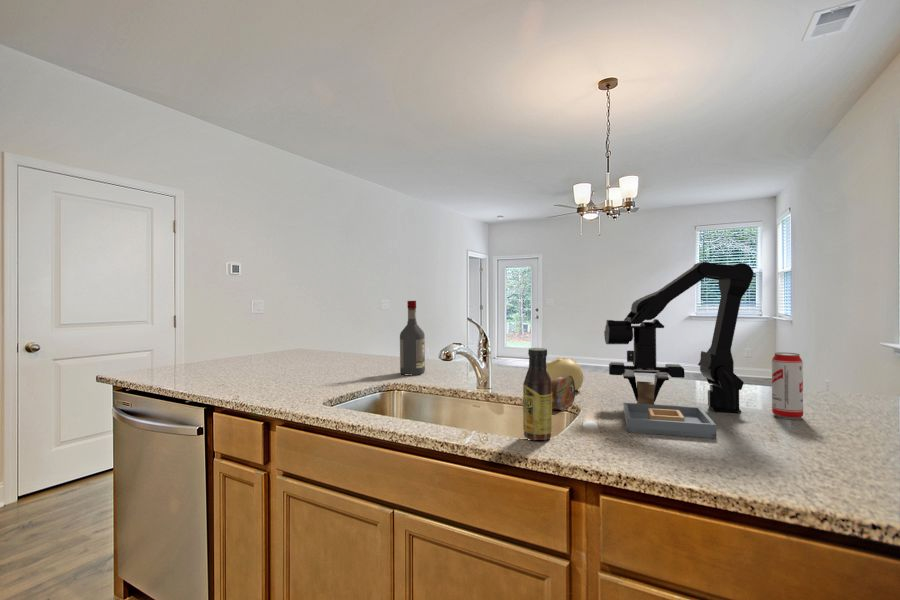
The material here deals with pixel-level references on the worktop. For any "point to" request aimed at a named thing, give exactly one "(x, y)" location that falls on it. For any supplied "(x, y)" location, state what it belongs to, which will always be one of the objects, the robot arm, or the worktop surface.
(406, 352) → the liquor
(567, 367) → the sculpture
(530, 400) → the sauce bottle
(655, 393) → the robot arm
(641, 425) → the box
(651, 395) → the brown rectangular block
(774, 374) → the beer can
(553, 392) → the tin
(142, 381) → the worktop surface
